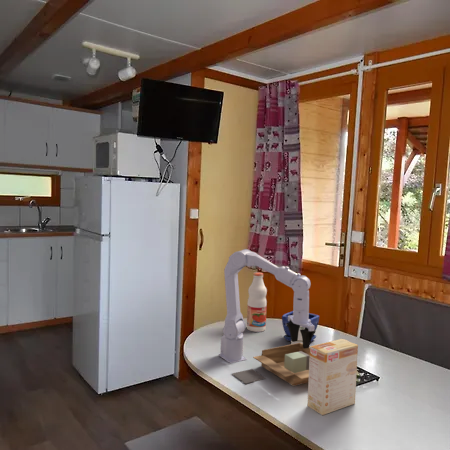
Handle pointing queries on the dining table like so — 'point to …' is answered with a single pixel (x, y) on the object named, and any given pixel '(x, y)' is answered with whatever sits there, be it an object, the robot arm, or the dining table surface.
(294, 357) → the capped block
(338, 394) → the coffeecake box
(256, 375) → the mat
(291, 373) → the wooden tray
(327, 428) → the dining table surface
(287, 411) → the dining table surface
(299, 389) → the dining table surface
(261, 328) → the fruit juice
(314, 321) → the flower pot
